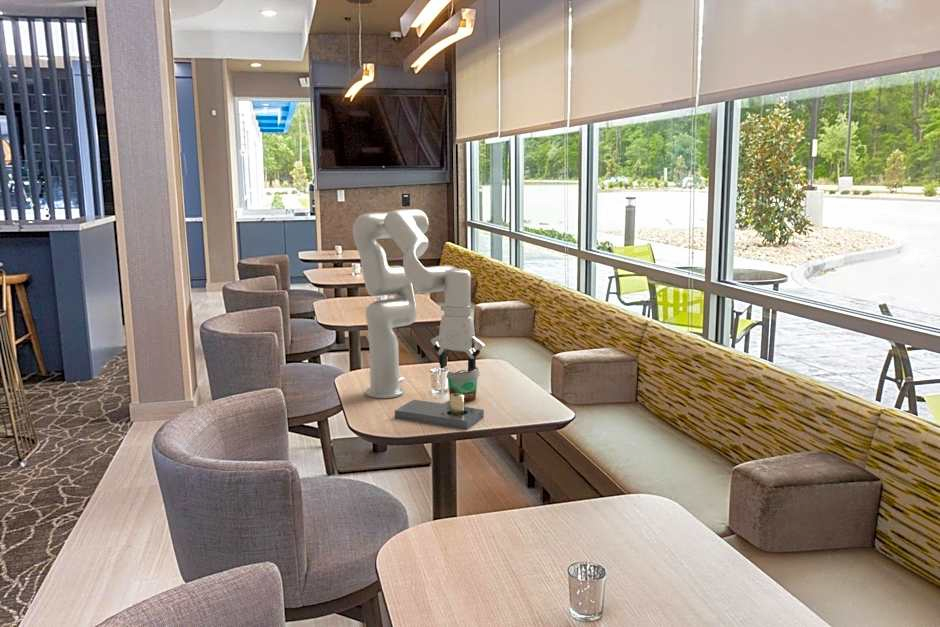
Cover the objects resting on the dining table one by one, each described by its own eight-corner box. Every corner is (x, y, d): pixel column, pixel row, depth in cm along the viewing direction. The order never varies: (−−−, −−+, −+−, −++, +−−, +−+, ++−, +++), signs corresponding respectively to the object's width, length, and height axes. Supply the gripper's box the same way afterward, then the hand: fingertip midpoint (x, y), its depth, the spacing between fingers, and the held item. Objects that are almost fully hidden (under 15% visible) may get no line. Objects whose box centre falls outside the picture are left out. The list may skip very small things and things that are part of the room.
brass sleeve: (454, 417, 234) (454, 391, 232) (466, 419, 232) (466, 393, 231) (448, 421, 230) (448, 395, 229) (460, 423, 228) (460, 397, 227)
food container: (458, 406, 245) (458, 375, 243) (446, 401, 250) (446, 371, 248) (487, 398, 253) (487, 369, 251) (474, 394, 258) (475, 365, 256)
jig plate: (413, 407, 244) (413, 399, 243) (483, 417, 234) (483, 409, 234) (394, 418, 233) (394, 410, 233) (467, 429, 223) (467, 421, 223)
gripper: (425, 311, 225) (425, 368, 228) (479, 316, 218) (479, 375, 221) (436, 306, 232) (436, 362, 235) (490, 311, 225) (489, 369, 228)
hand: (457, 368), depth 228 cm, fingers open, 8 cm apart
